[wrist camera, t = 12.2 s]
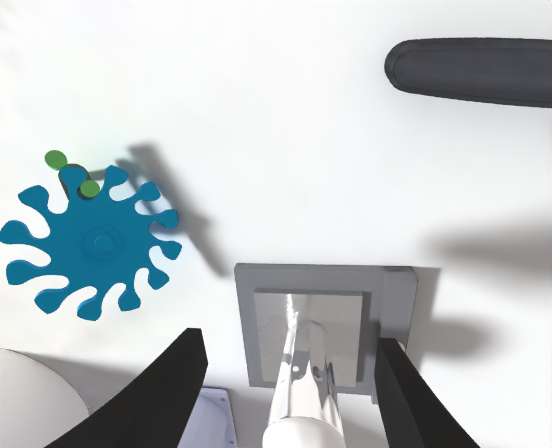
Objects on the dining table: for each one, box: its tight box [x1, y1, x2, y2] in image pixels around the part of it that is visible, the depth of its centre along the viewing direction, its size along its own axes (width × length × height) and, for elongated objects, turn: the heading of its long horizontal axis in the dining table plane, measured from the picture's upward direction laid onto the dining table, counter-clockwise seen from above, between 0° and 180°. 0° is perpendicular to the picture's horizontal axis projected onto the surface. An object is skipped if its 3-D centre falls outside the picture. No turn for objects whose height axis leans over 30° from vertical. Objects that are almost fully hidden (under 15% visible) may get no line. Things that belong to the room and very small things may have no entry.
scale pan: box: [254, 288, 363, 387], centre depth 24 cm, size 10×8×1 cm
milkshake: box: [263, 321, 346, 448], centre depth 19 cm, size 4×5×10 cm
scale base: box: [234, 264, 418, 404], centre depth 24 cm, size 13×13×2 cm
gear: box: [0, 150, 182, 321], centre depth 21 cm, size 11×6×10 cm
